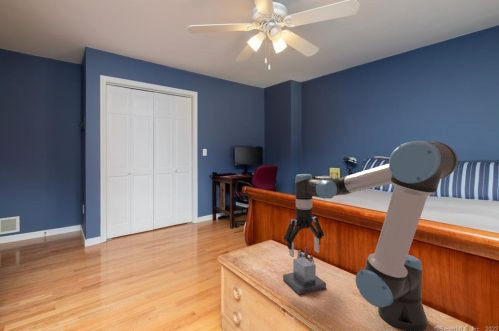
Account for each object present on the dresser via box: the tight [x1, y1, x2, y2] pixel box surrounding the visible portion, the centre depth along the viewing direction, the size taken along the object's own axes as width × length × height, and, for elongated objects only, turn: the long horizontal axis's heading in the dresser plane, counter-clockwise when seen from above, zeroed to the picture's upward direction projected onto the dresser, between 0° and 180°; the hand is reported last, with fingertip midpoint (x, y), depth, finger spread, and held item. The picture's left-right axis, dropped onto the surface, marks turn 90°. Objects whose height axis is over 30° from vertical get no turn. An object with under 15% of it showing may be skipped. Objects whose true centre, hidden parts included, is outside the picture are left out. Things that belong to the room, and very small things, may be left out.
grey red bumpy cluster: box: [296, 246, 315, 264], centre depth 132 cm, size 11×10×11 cm
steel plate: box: [282, 272, 327, 296], centre depth 113 cm, size 14×14×2 cm
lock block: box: [292, 257, 317, 285], centre depth 112 cm, size 9×6×8 cm, turn 22°
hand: (304, 253), depth 112 cm, fingers open, 13 cm apart
